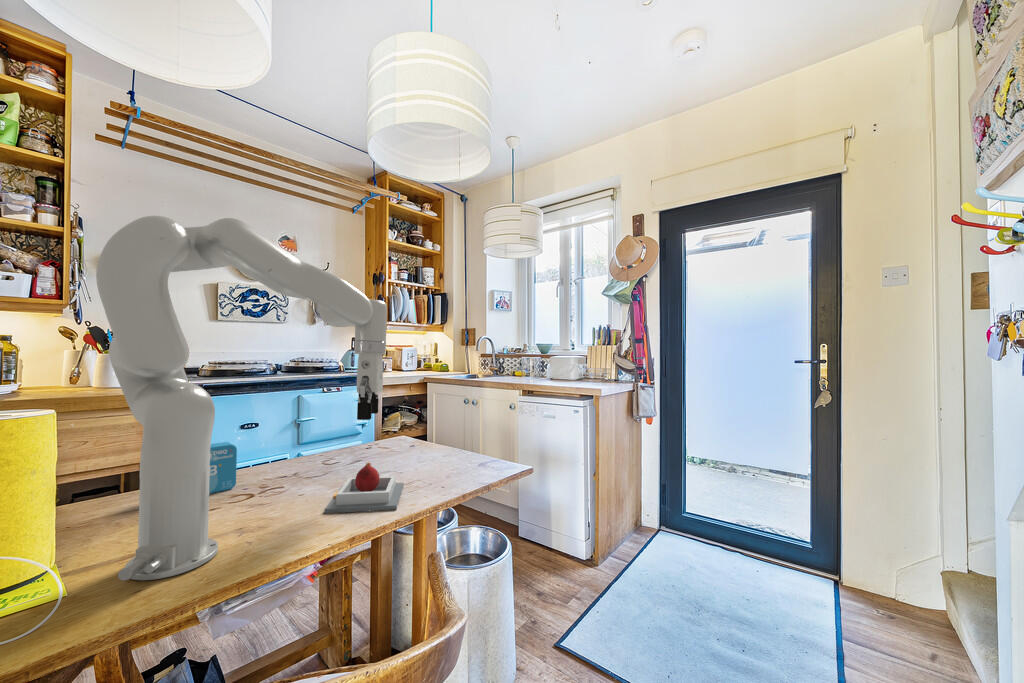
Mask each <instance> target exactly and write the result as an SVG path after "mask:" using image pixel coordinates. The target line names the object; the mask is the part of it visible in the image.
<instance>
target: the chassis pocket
mask: <svg viewBox="0 0 1024 683" xmlns="http://www.w3.org/2000/svg"><path fill="white" fill-rule="evenodd" d="M355 479H356V477H348V478H347V480H345V482H344V484H343V485H341V487H339V489H338V491H335V492H334V494H333V495H332V498H331V500H330V501H329V502H328V504H327V505H326V506H325V507H324V514H338V513H337V512H342V513H354V512H353V511H362V512H372V511H371V510H382V511H391V510H390V509H397V510H398V507H397V506H399V502H400V500H401V497H400V496H402V494H401V493H403V490H404V487H405V483H404V482H396V476H395V475H394V476H393V475H391V476H379V479H380V480H379V484H378V486H377V487H376V488H375V489H374V490H373V491H371V492H360V491H359V490H358V489H357V487H356V485H355ZM403 486H404V487H403ZM402 489H403V490H402ZM399 499H400V500H399ZM388 509H389V510H388ZM369 510H370V511H369Z"/></svg>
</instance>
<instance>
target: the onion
mask: <svg viewBox="0 0 1024 683" xmlns="http://www.w3.org/2000/svg"><path fill="white" fill-rule="evenodd" d="M379 477H380V474H379V472H378V470H377V469H376V468H375V467H373V466H372V463H371V462H366V463H365V465H364V467H362V468H360V470H359V471H358V472H357V474H356V476H355V478H356V479H355V485H356V487H357V489H358V490H359V491H360V492H371V491H373V490H374V489H375V488H376V487H377V486H378V484H379V480H380V479H379Z"/></svg>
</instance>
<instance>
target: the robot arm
mask: <svg viewBox="0 0 1024 683" xmlns="http://www.w3.org/2000/svg"><path fill="white" fill-rule="evenodd" d="M229 266H231V267H233V268H234V269H237V270H238V271H240V272H242V273H243V274H245V275H247V276H248V277H249V278H252V279H253V280H255V281H256V282H258V283H260V284H262V285H264V286H265V287H267V288H268V289H270V290H271V291H273V292H275V293H278V294H280V295H284V296H287V297H290V298H296V299H301V300H305V301H309V302H312V303H315V304H317V305H320V306H319V309H318V310H319V317H320V319H321V320H322V322H324V324H327V325H328V326H330V327H334V328H347V327H354V351H353V352H354V353H353V354H354V355H358V356H357V357H358V358H357V371H356V393H357V394H358V398H357V406H356V407H357V408H356V410H357V412H356V413H357V415H356V420H358V421H370V420H372V414H373V415H374V414H375V415H376V414H378V413H379V401H380V400H379V394H380V393H381V392H383V389H384V372H383V370H384V367H383V366H384V365H383V355H387V354H386V353H387V352H386V351H387V325H388V324H387V323H388V320H387V319H388V306H387V303H386V302H384V301H383V300H379V299H369V298H368V297H367V296H366V295H365V294H364V293H363V292H362V291H360V290H359V289H358V288H356V287H355V286H353V285H352V284H350V283H348V282H347V281H346V280H344V279H342V278H341V277H339V276H337V275H335V274H333V273H331V272H328V271H325V270H324V269H321V268H320V267H317V266H315V265H313V264H309V263H308V262H305V261H303V260H301V259H299V258H298V257H297V256H294V255H293V254H291V253H290V252H289V251H287V250H286V249H285V248H283V247H281V246H280V245H279V244H277V243H275V242H274V241H273V240H272V239H270V238H268V237H267V236H266V235H264V234H262V233H260V232H259V231H258V230H256V229H255V228H253V227H252V226H250V225H249V224H247V223H246V222H244V221H242V220H240V219H237V218H233V217H225V218H224V217H223V218H220V219H217V220H215V221H213V222H211V223H209V224H207V225H203V226H190V227H183V225H181V224H180V223H179V222H178V221H176V220H174V219H172V218H170V217H166V216H162V215H161V216H160V215H147V216H142V217H139V218H137V219H135V220H133V221H131V222H129V223H128V224H125V226H123V227H121V228H120V229H119V230H117V231H116V232H115V233H114V234H113V235H112V236H111V237H109V239H108V240H107V242H106V244H105V245H104V247H103V248H102V251H101V253H100V255H99V258H98V261H97V266H96V271H95V272H96V273H95V274H96V275H95V276H96V286H97V290H98V295H99V298H100V301H101V304H102V306H103V309H104V313H105V316H106V319H107V321H108V324H109V327H110V330H111V332H112V336H113V337H112V339H111V341H110V343H109V347H108V348H109V349H108V356H109V361H110V364H111V366H112V369H113V371H114V373H115V374H114V375H115V376H116V379H117V381H118V384H119V387H120V388H121V390H122V394H123V395H124V398H125V401H126V403H127V405H128V407H129V410H130V413H131V414H132V415H133V418H134V419H135V420H136V421H137V422H138V423H139V424H141V425H142V429H143V430H142V432H143V433H142V440H141V447H140V448H141V449H140V458H139V459H140V460H139V497H138V498H139V500H138V537H137V538H138V539H137V543H138V544H137V549H135V555H134V556H133V557H132V558H131V559H130V560H129V561H127V562H126V564H125V566H124V567H123V568H121V569H120V570H119V571H118V573H117V577H118V579H119V580H120V581H129V580H134V581H153V580H159V579H166V578H169V577H173V576H177V575H180V574H184V573H187V572H190V571H192V570H195V569H197V568H198V567H200V566H202V565H204V564H206V563H207V562H210V560H212V559H213V558H214V557H215V556H216V555H217V553H218V552H219V543H218V541H217V540H215V539H213V538H209V516H210V514H209V513H210V512H209V511H210V509H209V508H210V494H209V479H210V445H211V444H212V435H213V430H214V424H215V418H216V416H215V415H216V410H215V409H216V408H215V403H214V401H213V398H212V396H211V395H210V393H209V392H207V391H206V389H204V388H203V387H201V386H200V385H197V384H195V383H191V382H189V379H188V376H187V373H186V370H185V368H184V367H185V365H186V364H187V362H188V360H189V357H190V348H189V344H188V341H187V338H186V337H185V335H184V332H183V330H182V327H181V325H180V322H179V319H178V317H177V316H178V315H176V312H175V309H174V306H173V303H172V299H171V295H170V291H169V276H170V273H178V272H189V271H200V270H210V269H219V268H224V267H225V268H226V267H229Z"/></svg>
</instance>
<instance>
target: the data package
mask: <svg viewBox="0 0 1024 683" xmlns="http://www.w3.org/2000/svg"><path fill="white" fill-rule="evenodd" d="M237 455H238V448H237V446H236V445H235V444H233V443H232V442H229V441H223V442H216V443H211V445H210V479H209V495H211V493H212V494H216V493H220V492H219V491H221V492H225V490H226V491H229V489H230V490H231V489H232V490H233V488H235V486H236V484H237V467H238V466H237V465H238V463H237V462H238V456H237ZM215 492H216V493H215Z"/></svg>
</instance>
